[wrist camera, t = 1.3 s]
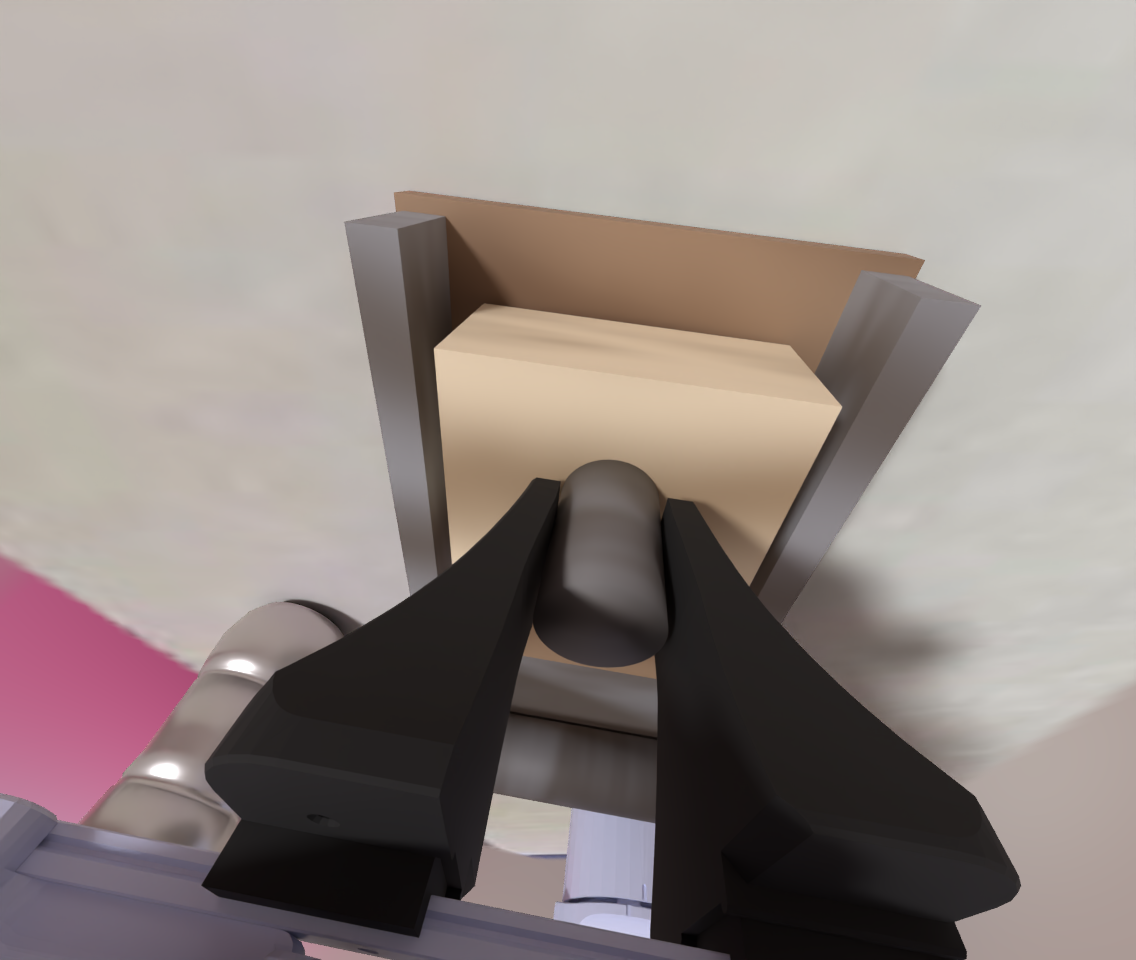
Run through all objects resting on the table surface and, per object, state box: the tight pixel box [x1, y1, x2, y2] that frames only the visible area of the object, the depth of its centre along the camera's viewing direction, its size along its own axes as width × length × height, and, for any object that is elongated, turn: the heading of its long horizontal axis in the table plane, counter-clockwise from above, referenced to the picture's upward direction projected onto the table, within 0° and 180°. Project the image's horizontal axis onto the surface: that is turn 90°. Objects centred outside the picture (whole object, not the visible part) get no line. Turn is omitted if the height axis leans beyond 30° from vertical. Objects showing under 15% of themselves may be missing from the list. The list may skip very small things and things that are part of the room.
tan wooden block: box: [434, 303, 842, 668], centre depth 12 cm, size 7×9×8 cm
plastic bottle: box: [78, 602, 344, 853], centre depth 19 cm, size 6×7×20 cm
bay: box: [344, 191, 981, 823], centre depth 16 cm, size 23×14×7 cm, turn 174°
